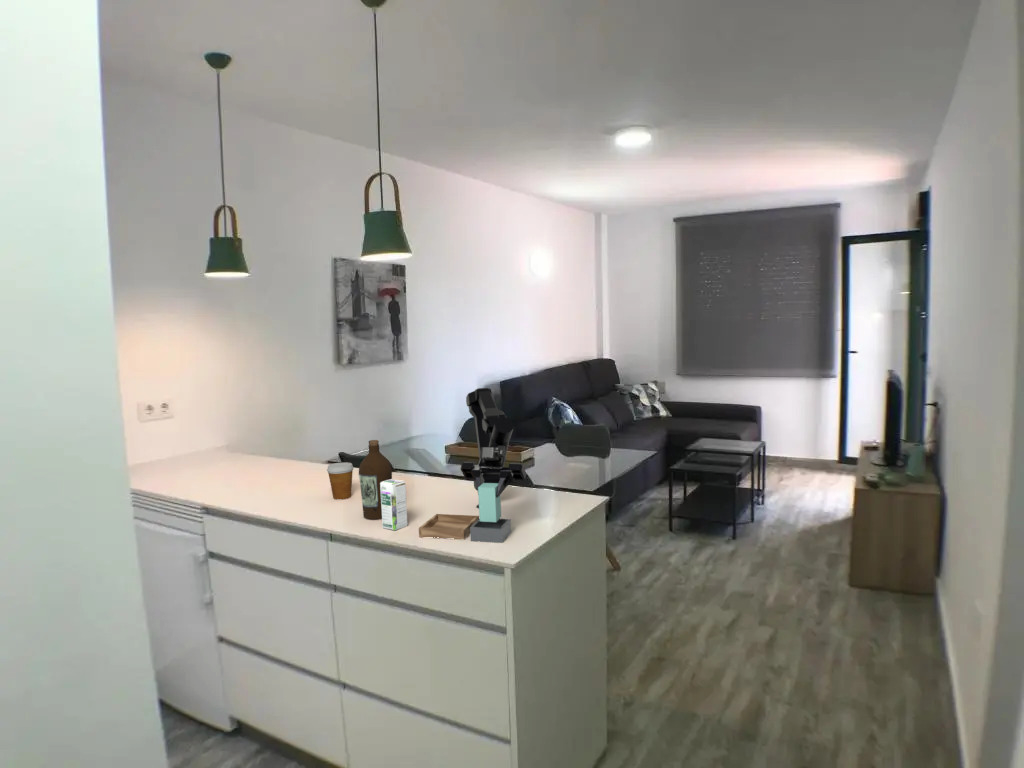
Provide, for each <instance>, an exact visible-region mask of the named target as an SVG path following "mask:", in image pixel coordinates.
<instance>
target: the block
mask: <svg viewBox="0 0 1024 768" xmlns="http://www.w3.org/2000/svg"><path fill="white" fill-rule="evenodd" d="M498 484H499V483H483V484H482V485H480V486H479V487H478V490H477V497H478V504H479V508H478V512H479V513H478V516H479V519H480V521H482V522H497V521H498V520H499V519H500V518H501V519H502V506H501V505H502V504H501V503H502V502H501V501H502V500H501V495H500V496H499V497H496V492H497V487H498Z"/></svg>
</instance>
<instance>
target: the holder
mask: <svg viewBox="0 0 1024 768" xmlns="http://www.w3.org/2000/svg"><path fill="white" fill-rule="evenodd" d="M511 533H512V519H511V518H502V517H501V518H500V519H499V520H498V521H497V522H482V521H480V518H479V519H478V520H477V521H476V522H475V523H474V524H473V525H472V526H471V527H470V534H469V536H470V542H478V541H480V542H482V543H497V544H502V543H503V542H504V541H505V540H506V539H507V537H509V536H510V534H511ZM480 542H479V543H480Z"/></svg>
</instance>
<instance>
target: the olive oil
mask: <svg viewBox="0 0 1024 768" xmlns="http://www.w3.org/2000/svg"><path fill="white" fill-rule="evenodd" d="M358 478H359V484H360V485H359V486H360V493H361V494H360V495H361V503H362V514H363V515H362V516H363V518H364V519H365V518H366V520H370V521H371V520H372V521H374V520H376V521H377V520H382V507H381V490H380V483H381V482H383V481H385V480H390V479H393V468H392V464H391V462H390V460H389V459H388V458H387V457H386V456H384V454H382V453H381V451H380V444H379V440H378V439H371V440H369V441H368V453H367V455H366V456H365V457H364V458H363V459H362V461H361V462H360V464H359V466H358Z"/></svg>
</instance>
